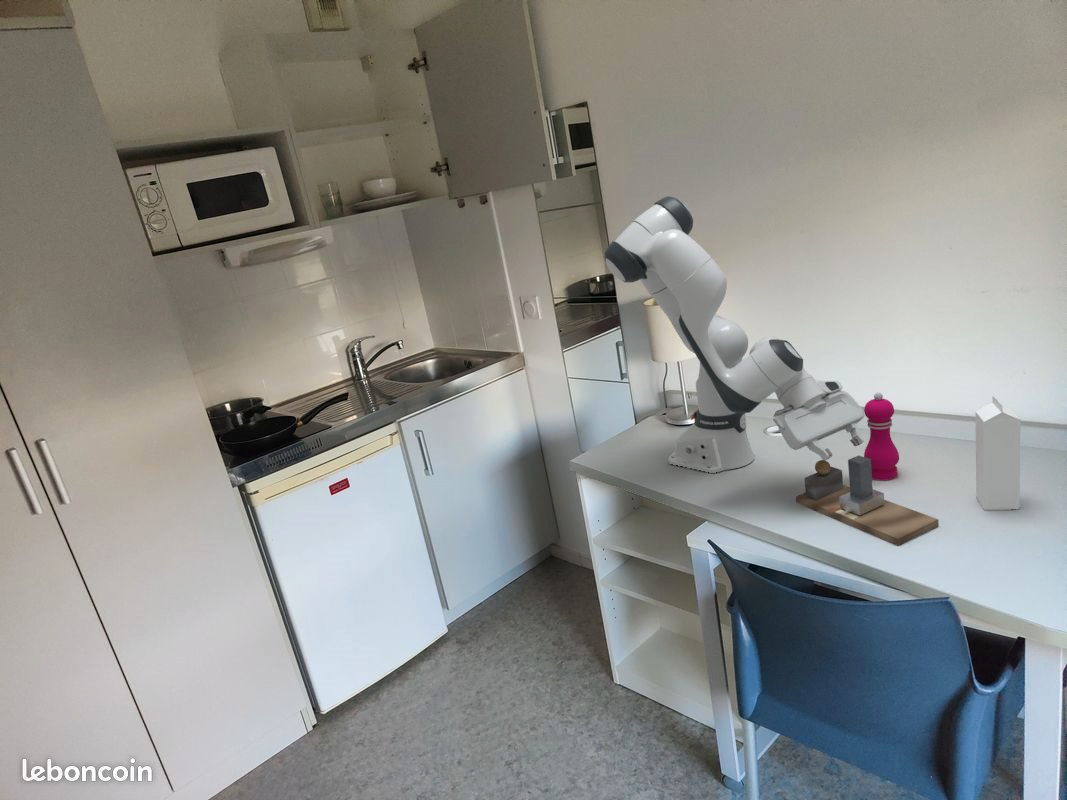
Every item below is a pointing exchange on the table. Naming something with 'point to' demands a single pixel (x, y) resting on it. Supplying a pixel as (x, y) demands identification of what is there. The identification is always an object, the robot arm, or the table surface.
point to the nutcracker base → (880, 522)
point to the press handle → (860, 488)
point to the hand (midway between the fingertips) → (844, 451)
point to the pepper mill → (881, 439)
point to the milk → (997, 457)
